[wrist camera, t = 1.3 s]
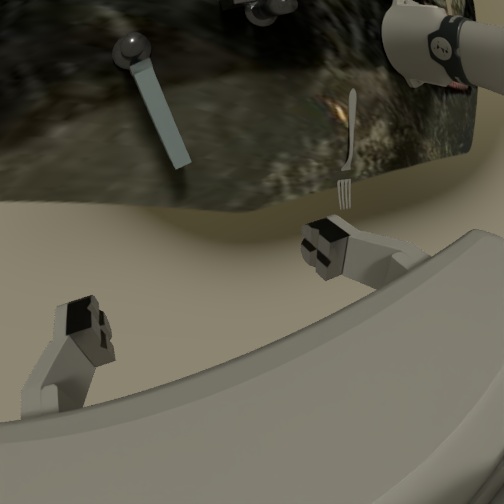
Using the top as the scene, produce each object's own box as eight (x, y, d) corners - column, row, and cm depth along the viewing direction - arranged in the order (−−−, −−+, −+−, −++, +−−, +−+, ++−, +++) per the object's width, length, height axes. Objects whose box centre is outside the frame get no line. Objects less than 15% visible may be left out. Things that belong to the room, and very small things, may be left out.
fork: (359, 71, 35) (367, 72, 34) (346, 204, 50) (352, 208, 49) (344, 69, 34) (352, 70, 33) (332, 207, 49) (338, 211, 48)
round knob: (143, 28, 22) (148, 16, 17) (156, 59, 25) (162, 53, 20) (107, 44, 21) (102, 35, 16) (120, 75, 24) (118, 73, 19)
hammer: (269, -9, 24) (297, -20, 19) (280, 23, 27) (308, 17, 22) (218, 0, 23) (239, -14, 18) (230, 34, 26) (253, 26, 21)
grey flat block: (129, 69, 24) (129, 66, 20) (145, 61, 24) (149, 57, 20) (167, 156, 32) (175, 170, 28) (182, 149, 32) (192, 161, 28)
